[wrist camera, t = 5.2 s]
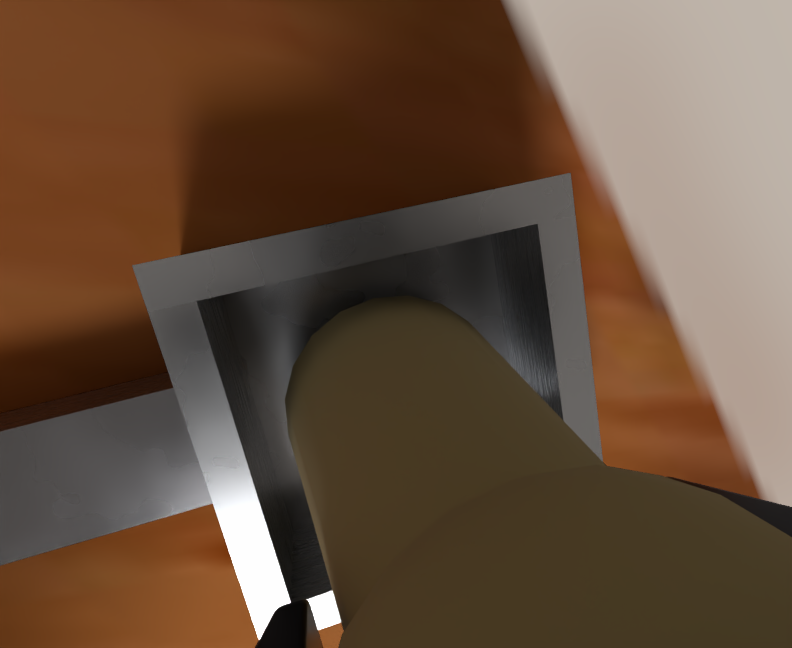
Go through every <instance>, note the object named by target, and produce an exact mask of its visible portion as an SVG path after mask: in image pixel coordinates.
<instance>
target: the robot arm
mask: <svg viewBox="0 0 792 648" xmlns="http://www.w3.org/2000/svg"><path fill="white" fill-rule="evenodd" d="M667 478H670V479H673V480H676V481H679V482H683V483H686V484H689V485H692V486H695V487H698V488H701V489H704V490H707V491H710V492H713V493H717V494H720V495H722V496H724V497H725V498H727V499H729V500H730V501H732V502H734V503H735V504H737V505H739V506H740V507H742V508H744V509H745V510H747V511H749V512H750V513H752V514H754V515H755V516H757V517H759V518H760V519H762V520H764V521H765V522H767V523H769V524H771V525H772V526H774V527H776V528H777V529H779V530H781V531H782V532H784V533H786V534H787V535H789V536H791V537H792V507H789V506H785V505H781V504H777V503H773V502H769V501H765V500H761V499H757V498H753V497H749V496H745V495H741V494H737V493H733V492H729V491H725V490H721V489H717V488H713V487H709V486H705V485H701V484H697V483H693V482H689V481H685V480H681V479H677V478H673V477H667ZM255 648H323V645H322V642H321V639H320V635H319V632H318V629H317V625H316V622H315V619H314V615H313V612H312V609H311V606H310V603H309V601H308V600H306V599H300V600H297V601H294V602H291V603H288V604H285V605H282V606H280V607H278V608H277V609H276V610H275V612H274V613H273V615H272V617H271V619H270V621H269V622H268V624H267V626H266V628H265V630H264V632H263V634H262V635H261V637H260V639H259V641H258V643H257V645H256V647H255Z"/></svg>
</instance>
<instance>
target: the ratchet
mask: <svg viewBox="0 0 792 648" xmlns="http://www.w3.org/2000/svg"><path fill="white" fill-rule="evenodd" d="M132 267H133V270H134V272H135V275H136V278H137V281H138V284H139V287H140V290H141V293H142V296H143V299H144V302H145V305H146V308H147V311H148V314H149V317H150V320H151V323H152V326H153V328H154V331H155V334H156V337H157V340H158V343H159V346H160V349H161V352H162V355H163V358H164V361H165V364H166V367H167V370H168V372H166V373H162V374H158V375H154V376H150V377H146V378H142V379H138V380H134V381H130V382H126V383H122V384H118V385H113V386H109V387H105V388H101V389H97V390H93V391H89V392H85V393H81V394H77V395H73V396H69V397H65V398H61V399H57V400H53V401H49V402H45V403H41V404H37V405H33V406H28V407H24V408H20V409H16V410H12V411H8V412H4V413H0V565H4V564H7V563H10V562H14V561H17V560H21V559H24V558H28V557H31V556H34V555H38V554H41V553H45V552H48V551H52V550H55V549H58V548H62V547H65V546H69V545H72V544H75V543H79V542H82V541H86V540H89V539H93V538H96V537H99V536H103V535H106V534H110V533H113V532H117V531H120V530H123V529H127V528H130V527H134V526H137V525H140V524H144V523H147V522H151V521H154V520H158V519H161V518H164V517H168V516H171V515H175V514H178V513H182V512H185V511H188V510H192V509H195V508H199V507H202V506H205V505H209V504H212V503H213V505H214V508H215V511H216V514H217V517H218V520H219V523H220V526H221V529H222V532H223V535H224V538H225V541H226V544H227V547H228V550H229V553H230V556H231V558H232V561H233V564H234V567H235V570H236V573H237V576H238V579H239V582H240V585H241V588H242V591H243V594H244V597H245V600H246V603H247V606H248V609H249V612H250V615H251V617H252V620H253V623H254V626H255V629H256V632H257V635H258V638H259V639H260V637H261V635H262V634H263V632H264V630H265V628H266V626H267V624H268V622H269V621H270V619H271V617H272V615H273V613H274V612H275V610H276V609H277V608H278V607H280V606H282V605H285V604H288V603H291V602H294V601H297V600H300V599H306V600H308V601H309V603H310V606H311V609H312V612H313V615H314V619H315V622H316V625H317V629H318V630H320V629H323V628H326V627H329V626H332V625H334V624H337V623H340V622H341V619H340V615H339V612H338V608H337V605H336V601H335V598H334V594H333V591H332V587H331V584H330V580H329V576H328V573H327V569H326V566H325V562H324V559H323V555H322V552H321V548H320V545H319V541H318V538H317V534H316V530H315V527H314V523H313V520H312V516H311V513H310V509H309V506H308V502H307V499H306V495H305V492H304V488H303V484H302V481H301V477H300V474H299V470H298V467H297V463H296V460H295V456H294V453H293V449H292V445H291V442H290V438H289V435H288V428H287V418H286V408H285V396H286V392H287V388H288V384H289V380H290V376H291V372H292V367H293V365H294V363H295V362H296V360H297V358H298V357H299V355H300V354H301V352H302V350H303V349H304V347H305V346H306V344H307V343H308V341H309V339H310V338H311V336H312V335H313V334H314V333H315V332H317V331H318V330H319V329H320V328H321V327H323V326H324V325H325V324H326V323H327V322H328V321H330V320H331V319H332V318H333V317H334V316H336V315H337V314H338V313H339V312H341V311H343V310H346V309H348V308H351V307H353V306H355V305H358V304H360V303H363V302H365V301H368V300H370V299H373V298H381V297H395V296H408V295H409V296H413V297H417V298H421V299H425V300H429V301H433V302H437V303H441V304H443V305H444V306H446V307H447V308H449V309H450V310H452V311H453V312H455V313H456V314H458V315H459V316H461V317H462V318H464V319H466V320H467V321H469V322H470V324H471V325H472V326H473V327H474V328H475V329H476V330H477V331H478V332H479V333H480V334H481V335H482V336H483V337H484V338H485V339H486V340H487V341H488V342H489V343H490V344H491V345H492V347H493V348H494V349H495V350H496V351H497V352H498V353H499V354H500V355H501V356H502V357H503V358H504V359H505V360H506V361H507V362H508V363H509V364H510V365H511V366H512V367H513V368H514V370H515V371H516V372H517V373H518V374H519V375H520V376H521V377H522V378H523V379H524V380H525V381H526V382H527V383H528V384H529V385H530V386H531V387H532V388H533V389H534V390H535V391H536V393H537V394H538V395H539V396H540V397H541V398H542V399H543V400H544V401H545V402H546V403H547V404H548V405H549V406H550V407H551V408H552V409H553V410H554V411H555V412H556V413H557V414H558V416H559V417H560V418H561V419H562V420H563V421H564V422H565V423H566V424H567V425H568V426H569V427H570V428H571V429H572V430H573V431H574V432H575V433H576V434H577V435H578V436H579V438H580V439H581V440H582V441H583V442H584V443H585V444H586V445H587V446H588V447H589V448H590V449H591V450H592V451H593V452H594V453H595V454H596V455H597V456H598V457H599V458H600V459H601V461H602V462H603V458H602V450H601V441H600V432H599V423H598V414H597V405H596V396H595V387H594V378H593V369H592V360H591V351H590V342H589V333H588V324H587V315H586V306H585V297H584V288H583V280H582V271H581V262H580V253H579V244H578V235H577V226H576V217H575V208H574V199H573V190H572V181H571V173H568V174H563V175H558V176H553V177H549V178H544V179H539V180H535V181H530V182H525V183H520V184H516V185H511V186H506V187H501V188H497V189H492V190H487V191H482V192H478V193H473V194H468V195H464V196H459V197H454V198H449V199H445V200H440V201H435V202H430V203H426V204H421V205H416V206H412V207H407V208H402V209H397V210H393V211H388V212H383V213H378V214H374V215H369V216H364V217H359V218H355V219H350V220H345V221H341V222H336V223H331V224H326V225H322V226H317V227H312V228H307V229H303V230H298V231H293V232H289V233H284V234H279V235H274V236H270V237H265V238H260V239H255V240H251V241H246V242H241V243H236V244H232V245H227V246H222V247H218V248H213V249H208V250H203V251H199V252H194V253H189V254H184V255H180V256H175V257H170V258H165V259H161V260H156V261H151V262H147V263H142V264H137V265H132Z"/></svg>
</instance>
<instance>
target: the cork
mask: <svg viewBox="0 0 792 648" xmlns="http://www.w3.org/2000/svg"><path fill="white" fill-rule="evenodd" d="M285 408H286V418H287V428H288V435H289V438H290V442H291V445H292V449H293V453H294V456H295V460H296V463H297V467H298V470H299V474H300V477H301V481H302V484H303V488H304V492H305V495H306V499H307V502H308V506H309V509H310V513H311V516H312V520H313V523H314V527H315V530H316V534H317V538H318V541H319V545H320V548H321V552H322V555H323V559H324V562H325V566H326V569H327V573H328V576H329V580H330V584H331V587H332V591H333V594H334V598H335V601H336V605H337V608H338V612H339V615H340V619H341V623H342V626H343V630H344V632H343V634H342V637H341V640H340V644H339V647H338V648H792V537H791V536H789V535H787V534H786V533H784V532H782V531H781V530H779V529H777V528H776V527H774V526H772V525H771V524H769V523H767V522H765V521H764V520H762V519H760V518H759V517H757V516H755V515H754V514H752V513H750V512H749V511H747V510H745V509H744V508H742V507H740V506H739V505H737V504H735V503H734V502H732V501H730V500H729V499H727V498H725V497H724V496H722V495H720V494H717V493H713V492H710V491H707V490H704V489H701V488H698V487H695V486H692V485H689V484H686V483H683V482H679V481H676V480H673V479H670V478H667V477H664V476H660V475H654V474H649V473H643V472H638V471H632V470H626V469H621V468H615V467H610V466H606V465H605V464H604V463H603V462H602V461H601V459H600V458H599V457H598V456H597V455H596V454H595V453H594V452H593V451H592V450H591V449H590V448H589V447H588V446H587V445H586V444H585V443H584V442H583V441H582V440H581V439H580V438H579V436H578V435H577V434H576V433H575V432H574V431H573V430H572V429H571V428H570V427H569V426H568V425H567V424H566V423H565V422H564V421H563V420H562V419H561V418H560V417H559V416H558V414H557V413H556V412H555V411H554V410H553V409H552V408H551V407H550V406H549V405H548V404H547V403H546V402H545V401H544V400H543V399H542V398H541V397H540V396H539V395H538V394H537V393H536V391H535V390H534V389H533V388H532V387H531V386H530V385H529V384H528V383H527V382H526V381H525V380H524V379H523V378H522V377H521V376H520V375H519V374H518V373H517V372H516V371H515V370H514V368H513V367H512V366H511V365H510V364H509V363H508V362H507V361H506V360H505V359H504V358H503V357H502V356H501V355H500V354H499V353H498V352H497V351H496V350H495V349H494V348H493V347H492V345H491V344H490V343H489V342H488V341H487V340H486V339H485V338H484V337H483V336H482V335H481V334H480V333H479V332H478V331H477V330H476V329H475V328H474V327H473V326H472V325H471V324H470V322H469V321H467V320H466V319H464V318H462V317H461V316H459V315H458V314H456V313H455V312H453V311H452V310H450V309H449V308H447V307H446V306H444V305H443V304H441V303H437V302H433V301H429V300H425V299H421V298H417V297H413V296H409V295H408V296H395V297H381V298H373V299H370V300H368V301H365V302H363V303H360V304H358V305H355V306H353V307H351V308H348V309H346V310H343V311H341V312H339V313H338V314H337V315H336V316H334V317H333V318H332V319H331V320H330V321H328V322H327V323H326V324H325V325H324V326H323V327H321V328H320V329H319V330H318V331H317V332H315V333H314V334H313V335H312V336H311V338H310V339H309V341H308V343H307V344H306V346H305V347H304V349H303V350H302V352H301V354H300V355H299V357H298V358H297V360H296V362H295V363H294V365H293V367H292V372H291V376H290V380H289V384H288V388H287V392H286V396H285Z"/></svg>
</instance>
